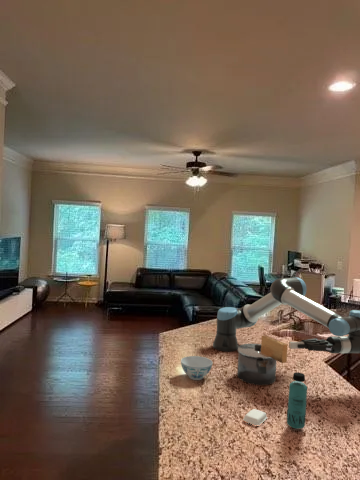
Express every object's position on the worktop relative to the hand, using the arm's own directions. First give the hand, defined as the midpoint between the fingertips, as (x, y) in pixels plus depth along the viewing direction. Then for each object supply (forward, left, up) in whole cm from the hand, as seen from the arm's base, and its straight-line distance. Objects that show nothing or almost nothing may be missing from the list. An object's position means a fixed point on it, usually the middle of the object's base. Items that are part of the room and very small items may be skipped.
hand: (289, 345), depth 171 cm
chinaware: (-31, -28, -20) cm, 46 cm away
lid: (-12, -3, -8) cm, 15 cm away
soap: (+12, -34, -21) cm, 41 cm away
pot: (-14, -4, -20) cm, 25 cm away
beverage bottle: (+24, -25, -20) cm, 40 cm away
